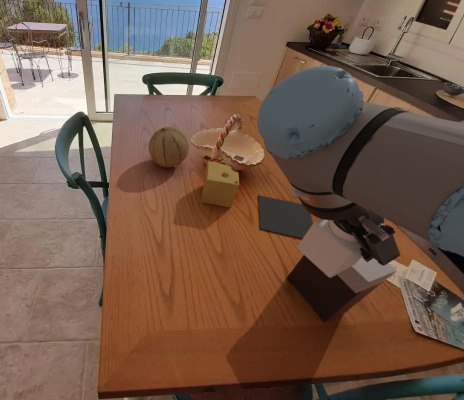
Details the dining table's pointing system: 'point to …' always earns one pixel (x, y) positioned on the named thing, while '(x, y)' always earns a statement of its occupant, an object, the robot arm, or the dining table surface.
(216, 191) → the cheese
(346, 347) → the dining table surface
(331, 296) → the lidded grey box
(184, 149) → the cantaloupe
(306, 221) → the mat
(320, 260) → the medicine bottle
